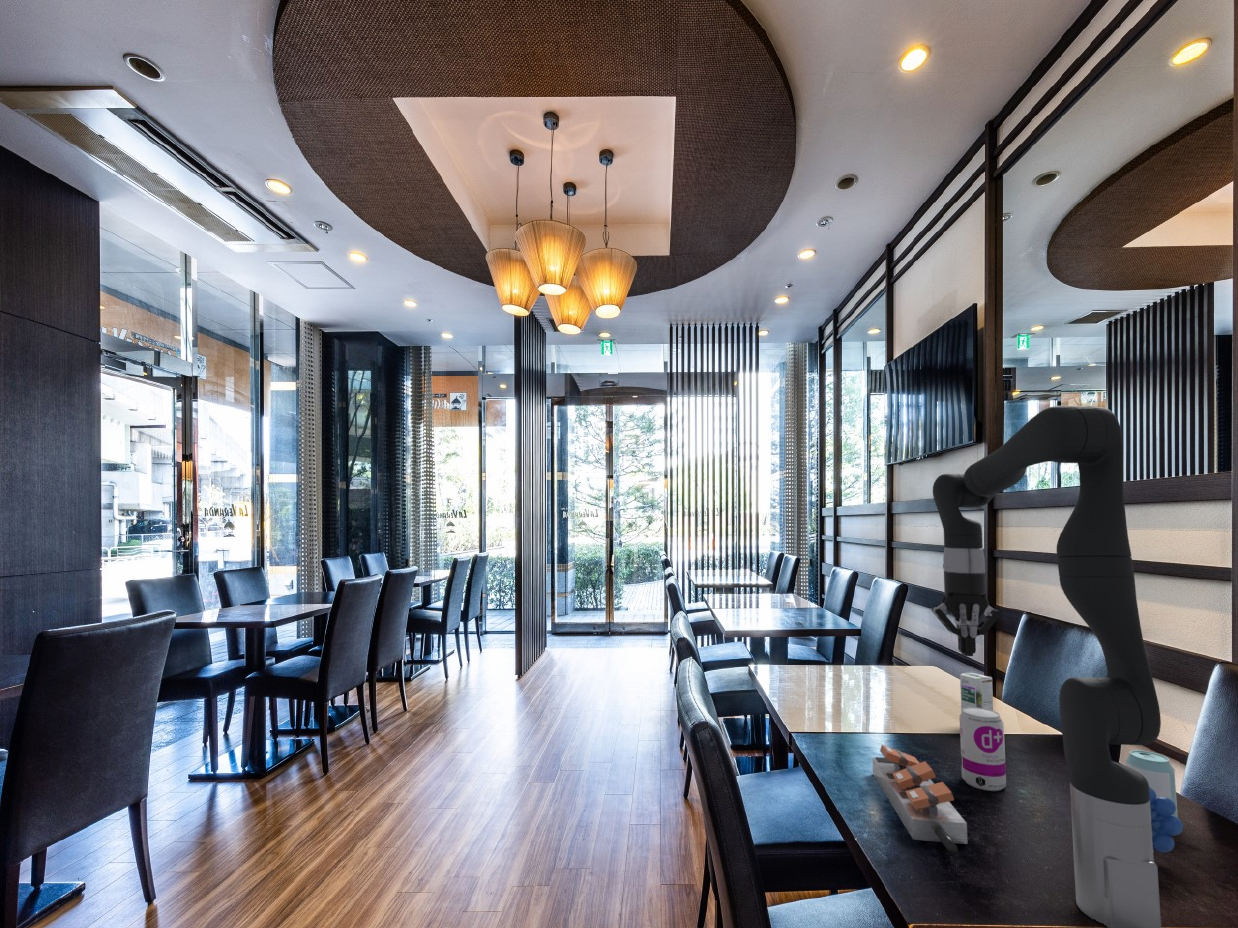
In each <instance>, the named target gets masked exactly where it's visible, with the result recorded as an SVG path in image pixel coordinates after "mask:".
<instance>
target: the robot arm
mask: <svg viewBox="0 0 1238 928" xmlns="http://www.w3.org/2000/svg"><path fill="white" fill-rule="evenodd" d="M1123 442H1124V441H1123V432H1122V429H1121V425H1120V423H1119V419H1118V418H1117V416H1116V414H1115V413H1114V412H1112V410H1110V409H1108V408H1106V407H1103V406H1090V405H1089V406H1088V405H1056V406H1055V405H1054V406H1050V407H1047V408H1045V409H1043V410H1041V411H1039V412H1038V413H1036V414H1035V415H1034V416H1033V417H1032V418H1030V419H1029V420H1028V421H1027V422H1026V423H1025V424H1024V425H1022V427H1021V428H1020V429H1019V430H1018V431H1017V432H1015V433H1014V434H1013V435H1012V436H1011V437H1010V438H1009V439H1008V440H1007V441H1006V442H1005V443H1004V444H1002V445H1001V446H1000V447H999V448H998V449H996V450H995V451H993V452H991V453H990V454H988V455H986V456H985V457H982V458H981V459H979V460H977V461H976V462H974V463H972V464H971V465H970V466H968V468H967V469H966V470H965V472H964V473H944V474H940V475H939V476H938V477H937V478H936V479H935V481H933V485H932V496H933V501H934V503H935V506H936V509H937V511H938V516H939V518H940V522H941V525H942V528H943V556H942V557H943V559H942V560H943V564H942V569H943V587H944V596H943V598H942V602H941V604H940V605H938V606H937V607H935V606H934V607H932V608H931V611H932V613H933V615H934V616H935V617H936V618H937V619H938V620H939V621H940V623H941V624H942V625H943V627H945V628H946V630H947V631H948V632H950V633H952V634H954V635H956V636H957V646H958V647H957V648H958V651H959V652H960V653H961V655H962V656H964V657H973V656H974V654H975V653H976V651H977V649H976V647H977V646H976V645H977V643H976V638H977V637H978V636H985V635H986V634H987V632H988V631H989V630H990V629H991V627H993V625H994V624H995V623H996V621H997V620H998V619H999V618H1000V616H1001V615H1002V614H1001V612H1000V610H997V609H995V608H993V606H990V603H989V600H988V599H987V586H986V585H987V582H986V561H985V555H984V549H983V546H984V545H983V529H982V524H981V522H979V521H978V520H976V519H972V518H967V517H965V516H964V515H963V514H962V512H961V510H960V508H969V509H970V508H972V509H973V508H979V507H982V506H985V505H987V504H989V503H990V502H991V500H992V499H993V498H994V497H995V496H996V495H997V494H999V493H1001V492H1003V491H1005V490H1007V489H1010V488H1011V487H1013V486H1015V485H1017V484H1018V483H1019V482H1020V481H1021V480H1022V479H1023V477H1024V476H1025V474H1026V471H1027V469H1028V467H1031V466H1034V465H1037V464H1042V463H1047V462H1054V463H1058V464H1077V467H1078V473H1079V475H1078V476H1079V494H1078V499H1077V501H1076V504H1075V506H1074V508H1073V509H1072V512H1071V513H1070V515H1069V518H1068V519H1067V521H1066V523H1065V524H1064V526H1063V528H1062V529H1061V530H1062V531H1061V532H1060V534H1059V537H1058V540H1057V543H1056V557H1057V558H1056V561H1057V567H1058V576H1059V577H1058V578H1059V583H1060V588H1061V590H1062V592H1063V594H1064V596H1065V597H1066V599H1067V601H1068V602H1069V603H1070V605H1071V606H1072V607H1073V609H1074V610H1075V612H1077V614H1078V615H1079V616H1080V617H1081V619H1082V620H1083V622H1085V624H1086V625H1087V626H1088V627H1089V629H1090V630H1091V631H1092V633H1093V635H1094V636H1095V637H1096V639H1097V640H1098V644H1099V645H1100V647H1101V650H1102V653H1103V656H1104V661H1105V665H1106V666H1105V667H1106V672H1107V677H1086V676H1085V677H1083V676H1081V677H1080V676H1077V677H1076V676H1074V677H1070V678H1068V679H1067V678H1066V680H1064V682H1063V683H1062V684H1061V686H1060V689H1059V697H1058V699H1059V700H1058V708H1059V716H1060V723H1061V724H1060V725H1061V733H1062V742H1063V752H1064V753H1063V755H1064V759H1065V762H1066V766H1067V769H1068V773H1069V774H1068V775H1069V789H1070V790H1069V792H1070V809H1071V812H1070V813H1071V814H1070V815H1071V828H1072V829H1071V831H1072V846H1073V848H1072V850H1073V866H1074V867H1073V869H1074V870H1073V871H1074V883H1075V884H1074V885H1075V888H1074V889H1075V900H1076V901H1075V902H1076V905H1077V906H1078V909H1080V911H1081V912H1082V913H1084V915H1086V916H1087V917H1089V918H1090V919H1092V920H1094V919H1095V920H1096V921H1095V920H1094V921H1095V922H1097V921H1098V922H1097V923H1099V922H1100V924H1101V923H1103V924H1104V925H1103V924H1102V925H1103V926H1105V925H1106V927H1107V928H1162V923H1161V922H1162V921H1161V920H1162V918H1161V905H1160V902H1161V901H1160V893H1159V892H1160V888H1159V887H1160V886H1159V875H1158V874H1159V872H1158V865H1157V864H1156V863H1155V861H1154V859H1155V857H1154V853H1153V849H1154V847H1153V843H1152V827H1151V809H1150V790H1149V784H1148V781H1147V779H1146V778H1145V777H1144V776H1143V775H1142V774H1140V773H1139V772H1137V771H1135V770H1133V769H1131V768H1129V767H1127V766H1126V765H1123V764H1121V763H1118V762H1115V761H1114V760H1112V757H1111V753H1110V746H1109V745H1125V746H1128V745H1129V746H1147V745H1151V744H1153V743H1155V741H1156V740H1157V739H1158V738H1159V735H1160V733H1161V727H1162V726H1161V725H1162V723H1161V722H1162V721H1161V719H1162V718H1161V710H1160V703H1159V700H1158V696H1157V691H1156V687H1155V683H1154V680H1153V679H1154V678H1153V675H1152V672H1151V671H1152V670H1151V667H1150V664H1149V659H1148V657H1147V655H1148V654H1147V652H1146V647H1145V643H1144V638H1143V634H1142V631H1143V630H1142V628H1141V627H1142V626H1141V622H1140V621H1141V620H1140V614H1139V608H1138V600H1137V591H1136V589H1137V588H1136V580H1135V571H1134V570H1135V569H1134V564H1133V557H1132V551H1131V546H1130V541H1129V533H1128V526H1127V518H1126V517H1127V515H1126V505H1125V495H1124V448H1123V447H1124V446H1123ZM948 612H949V614H950V615H951V616H952V617H953V618H954V624H953V622H952V621H951V620H950V619H949V617H947V615H948ZM982 615H984V617H983V618H982V619H981V620H980V621H979V619H980V618H981V616H982Z"/></svg>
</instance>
